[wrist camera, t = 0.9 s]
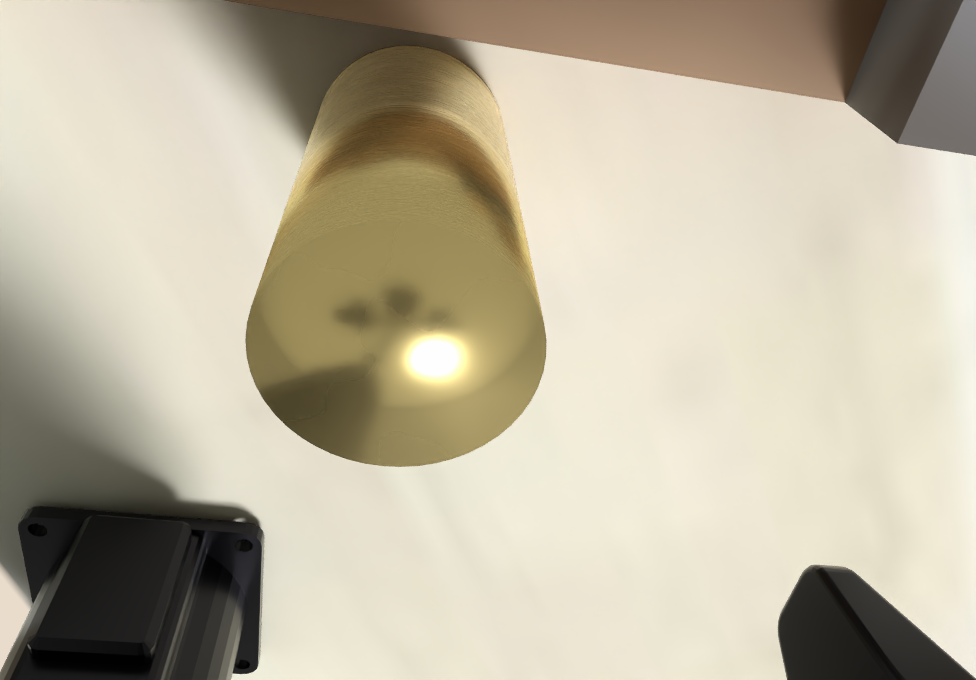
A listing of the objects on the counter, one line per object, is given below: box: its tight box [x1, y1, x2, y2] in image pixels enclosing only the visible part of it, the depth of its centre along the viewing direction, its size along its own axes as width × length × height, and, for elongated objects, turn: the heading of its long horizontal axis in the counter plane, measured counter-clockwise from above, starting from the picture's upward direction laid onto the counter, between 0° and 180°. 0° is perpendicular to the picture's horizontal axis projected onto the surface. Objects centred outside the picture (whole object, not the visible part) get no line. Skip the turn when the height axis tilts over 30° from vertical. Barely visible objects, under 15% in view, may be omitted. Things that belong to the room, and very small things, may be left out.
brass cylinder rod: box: [246, 46, 546, 467], centre depth 14 cm, size 4×4×8 cm
